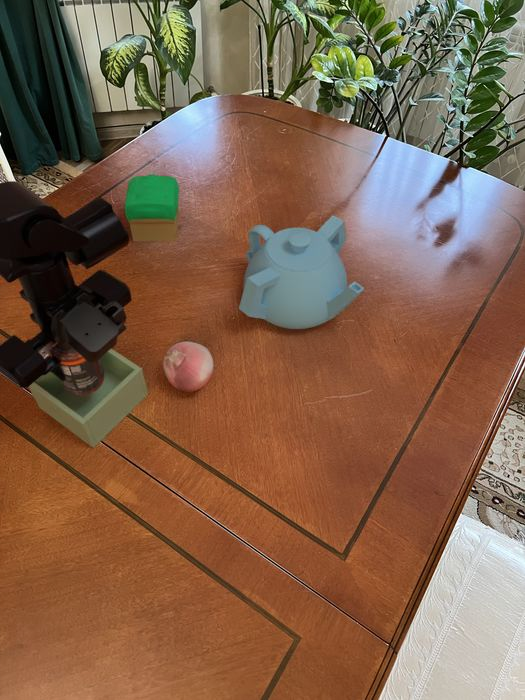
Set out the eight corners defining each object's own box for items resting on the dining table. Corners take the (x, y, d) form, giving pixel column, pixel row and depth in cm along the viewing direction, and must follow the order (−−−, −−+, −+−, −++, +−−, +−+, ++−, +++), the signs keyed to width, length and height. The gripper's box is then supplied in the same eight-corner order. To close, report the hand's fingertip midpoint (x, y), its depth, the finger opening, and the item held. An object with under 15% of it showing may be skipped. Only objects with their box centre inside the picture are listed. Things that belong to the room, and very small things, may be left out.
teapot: (239, 336, 95) (238, 276, 84) (242, 257, 107) (242, 196, 96) (354, 338, 95) (368, 279, 85) (344, 259, 107) (355, 199, 96)
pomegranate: (160, 366, 91) (154, 338, 85) (205, 352, 93) (202, 323, 87) (175, 406, 87) (170, 378, 81) (223, 389, 89) (221, 362, 83)
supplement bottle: (90, 357, 85) (74, 304, 76) (113, 381, 83) (100, 329, 74) (54, 379, 82) (34, 327, 73) (78, 404, 80) (59, 354, 71)
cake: (183, 208, 116) (178, 165, 108) (180, 243, 109) (175, 200, 101) (134, 208, 115) (126, 165, 107) (128, 244, 109) (119, 200, 101)
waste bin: (93, 448, 82) (82, 424, 77) (39, 408, 86) (25, 382, 81) (148, 394, 88) (142, 368, 82) (95, 359, 92) (86, 332, 86)
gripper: (32, 369, 60) (68, 442, 72) (154, 269, 69) (168, 349, 81) (-36, 320, 63) (10, 398, 76) (89, 232, 73) (111, 314, 85)
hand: (79, 364), depth 79 cm, fingers closed on supplement bottle, 6 cm apart
